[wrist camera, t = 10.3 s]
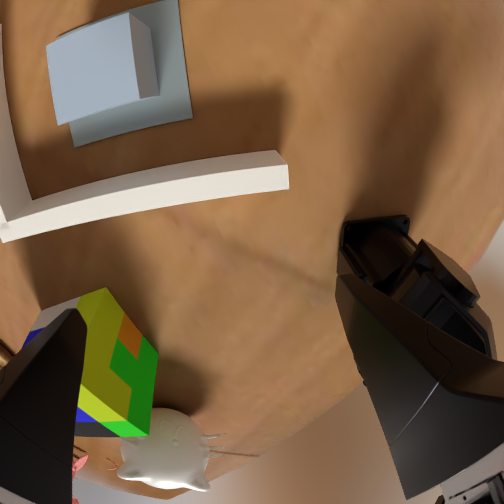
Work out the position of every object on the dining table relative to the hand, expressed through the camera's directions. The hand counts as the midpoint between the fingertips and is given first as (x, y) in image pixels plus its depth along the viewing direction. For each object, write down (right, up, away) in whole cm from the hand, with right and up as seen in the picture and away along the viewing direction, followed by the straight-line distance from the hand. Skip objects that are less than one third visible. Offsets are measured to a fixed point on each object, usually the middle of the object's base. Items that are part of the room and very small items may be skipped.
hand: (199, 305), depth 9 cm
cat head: (-11, -22, +28) cm, 37 cm away
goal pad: (-7, +14, +6) cm, 17 cm away
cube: (-7, +14, +6) cm, 16 cm away
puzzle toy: (-15, -7, +18) cm, 25 cm away
